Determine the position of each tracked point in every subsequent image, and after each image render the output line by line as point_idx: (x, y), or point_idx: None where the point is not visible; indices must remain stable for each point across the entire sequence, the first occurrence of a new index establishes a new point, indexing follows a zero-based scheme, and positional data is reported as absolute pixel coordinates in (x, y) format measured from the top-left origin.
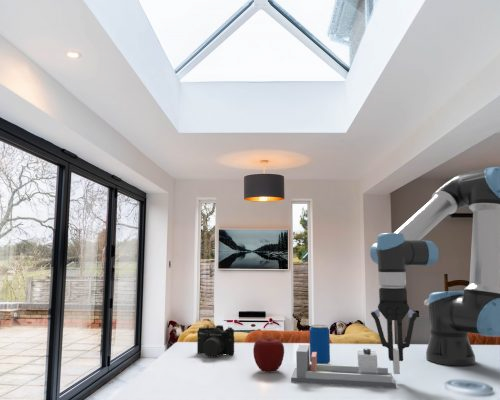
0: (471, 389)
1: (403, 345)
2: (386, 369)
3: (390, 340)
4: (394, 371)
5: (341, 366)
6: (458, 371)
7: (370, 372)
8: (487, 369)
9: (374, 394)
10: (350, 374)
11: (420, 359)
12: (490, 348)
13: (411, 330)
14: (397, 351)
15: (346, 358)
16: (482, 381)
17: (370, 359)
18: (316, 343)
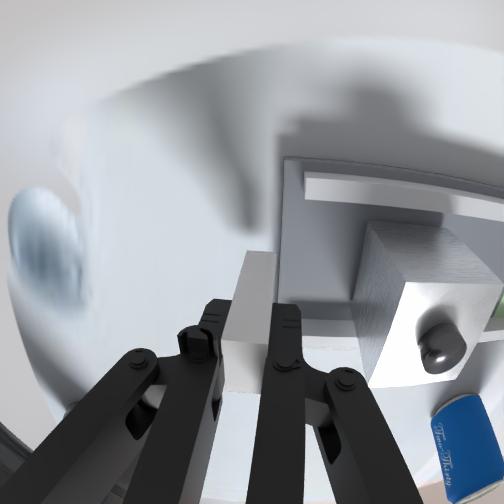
0: (31, 208)
1: (171, 371)
2: None
3: (283, 411)
4: (274, 259)
5: None
6: (81, 373)
7: (409, 233)
8: (43, 377)
9: (397, 50)
10: (494, 201)
11: None
12: None
13: (45, 448)
14: (234, 330)
15: None
16: (24, 293)
17: (434, 268)
18: (492, 439)
